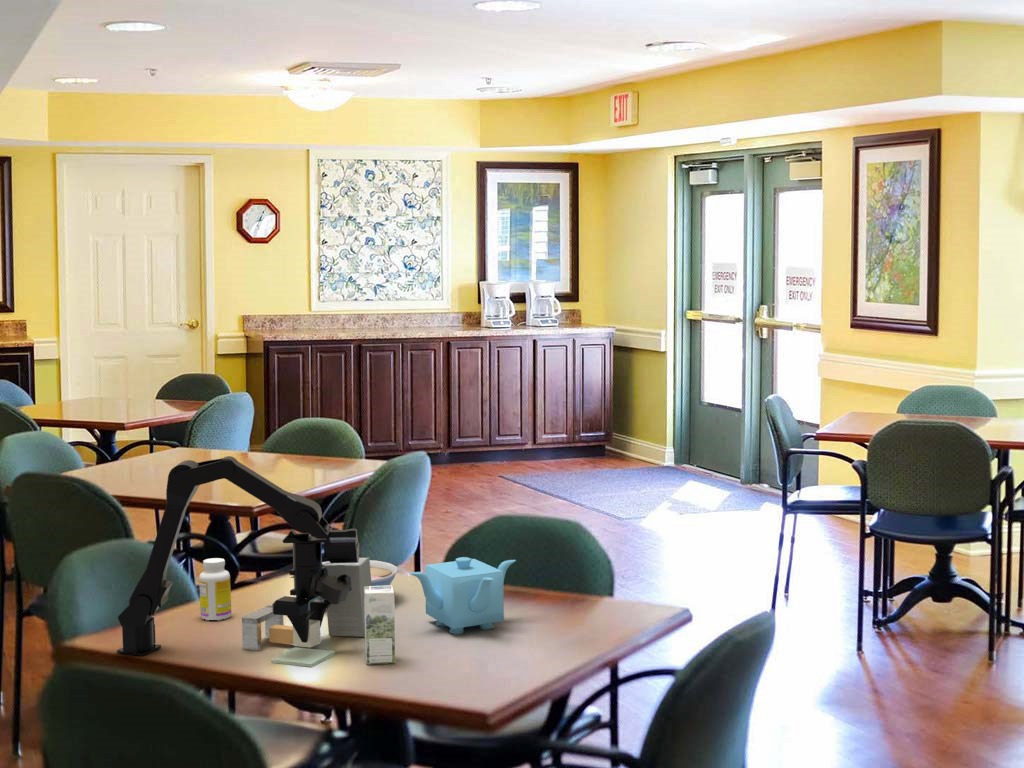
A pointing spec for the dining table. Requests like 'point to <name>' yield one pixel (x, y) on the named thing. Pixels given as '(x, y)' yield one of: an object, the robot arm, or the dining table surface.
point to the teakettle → (464, 593)
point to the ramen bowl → (379, 572)
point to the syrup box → (379, 624)
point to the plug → (295, 634)
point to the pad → (303, 656)
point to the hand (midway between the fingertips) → (310, 639)
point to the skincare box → (349, 599)
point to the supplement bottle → (215, 590)
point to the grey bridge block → (258, 626)
